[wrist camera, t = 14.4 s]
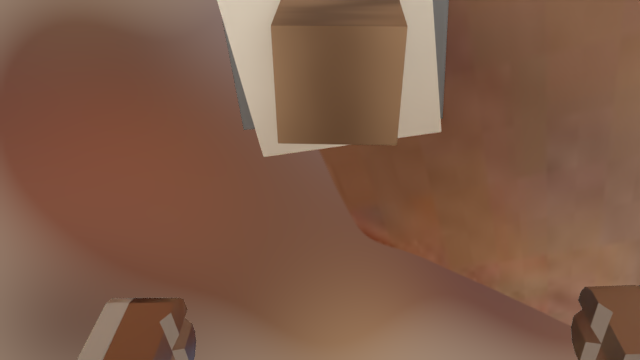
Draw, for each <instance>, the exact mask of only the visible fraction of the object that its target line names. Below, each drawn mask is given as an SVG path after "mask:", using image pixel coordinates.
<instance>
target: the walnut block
mask: <svg viewBox="0 0 640 360" xmlns="http://www.w3.org/2000/svg"><path fill="white" fill-rule="evenodd" d="M407 28H408V26H407V23H406V20H405V16H404V13H403V10H402V7H401V3H400V0H281V1H280V3H279V6H278V8H277V11H276V13H275V16H274V18H273V21H272V24H271V39H272V55H273V71H274V87H275V103H276V120H277V136H278V143H282V144H342V145H397V138H398V127H399V116H400V105H401V94H402V83H403V72H404V61H405V50H406V39H407Z"/></svg>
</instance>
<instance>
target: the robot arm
mask: <svg viewBox="0 0 640 360" xmlns="http://www.w3.org/2000/svg"><path fill="white" fill-rule="evenodd" d="M578 301H579V303H580V305H581V307H582V310H580V311H579V312H578V313H576V314H575V315H574V317H573V321H572V325H571V334H572V343H573V347H574V351H575V353H576V356H577V358H578V360H640V285H638V286H637V285H622V286H595V287H584V289H583V290H582V291H581V293H580V296H579V299H578ZM186 312H187V307H186V305H185V302H184V300H183V299H181V298H112V299H111V300H110V301H109V302H107V303H106V305H105V307H104V309H103V310H102V312H101V315H100V316H99V318H98V320H97V322H96V324H95V326H94V328H93V330H92V331H91V333H90V335H89V337H88V339H87V341H86V343H85V345H84V347H83V349H82V351H81V353H80V355H79V357H78V358H77V360H194V357H195V348H196V337H195V330H194V327H193V324H192V323H191V322H189V321H188V320H187V319H185V315H186Z"/></svg>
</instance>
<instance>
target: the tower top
mask: <svg viewBox="0 0 640 360" xmlns="http://www.w3.org/2000/svg"><path fill="white" fill-rule="evenodd" d="M280 1H281V0H217V2H218V5H219V8H220V12H221V16H222V19H223V22H224V26H225V29H226V32H227V36H228V39H229V42H230V46H231V49H232V53H233V56H234V59H235V63H236V66H237V69H238V73H239V76H240V80H241V83H242V86H243V90H244V93H245V96H246V100H247V103H248V107H249V110H250V113H251V117H252V120H253V123H254V127H255V130H256V133H257V137H258V140H259V144H260V147H261V150H262V154H263V157H267V156H275V155H281V154H289V153H296V152H302V151H310V150H317V149H324V148H331V147H338V146H345V145H342V144H282V143H278V136H277V120H276V103H275V87H274V71H273V55H272V39H271V24H272V21H273V18H274V16H275V13H276V11H277V8H278V6H279V3H280ZM400 3H401V7H402V10H403V13H404V16H405V20H406V23H407V26H408V28H407V39H406V50H405V61H404V72H403V83H402V94H401V105H400V116H399V127H398V138H402V137H409V136H416V135H423V134H430V133H437V132H441V118H440V103H439V88H438V73H437V58H436V43H435V28H434V13H433V0H400Z"/></svg>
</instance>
